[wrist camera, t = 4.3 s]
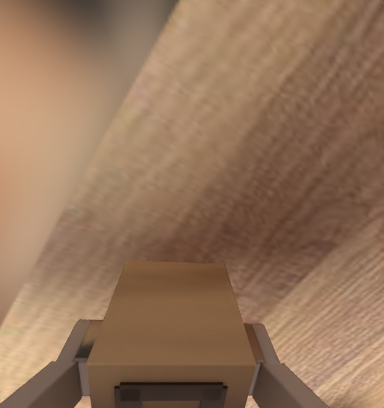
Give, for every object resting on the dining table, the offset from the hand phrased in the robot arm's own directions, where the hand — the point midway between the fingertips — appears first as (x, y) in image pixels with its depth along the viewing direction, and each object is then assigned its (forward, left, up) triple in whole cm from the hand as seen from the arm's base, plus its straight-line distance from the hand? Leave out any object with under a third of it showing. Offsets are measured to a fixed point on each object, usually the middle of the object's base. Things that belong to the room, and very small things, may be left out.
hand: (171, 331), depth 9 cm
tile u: (0, 0, -2) cm, 2 cm away
